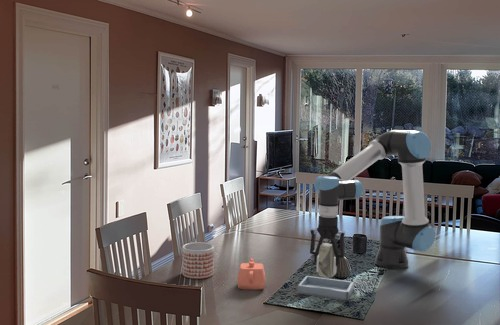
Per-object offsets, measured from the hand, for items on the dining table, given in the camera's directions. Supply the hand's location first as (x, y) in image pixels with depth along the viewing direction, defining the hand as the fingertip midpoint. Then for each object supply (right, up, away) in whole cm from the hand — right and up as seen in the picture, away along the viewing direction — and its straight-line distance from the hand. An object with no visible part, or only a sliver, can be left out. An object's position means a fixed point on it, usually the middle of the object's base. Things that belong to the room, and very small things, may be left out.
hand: (326, 272), depth 204 cm
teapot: (-30, -7, +6) cm, 32 cm away
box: (0, -2, 0) cm, 2 cm away
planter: (-54, -6, +20) cm, 58 cm away
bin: (0, -8, +1) cm, 8 cm away
